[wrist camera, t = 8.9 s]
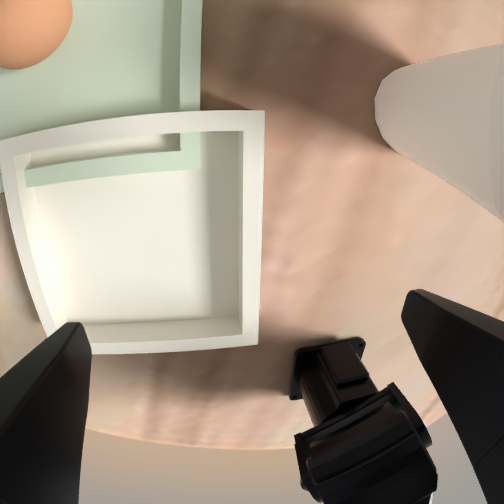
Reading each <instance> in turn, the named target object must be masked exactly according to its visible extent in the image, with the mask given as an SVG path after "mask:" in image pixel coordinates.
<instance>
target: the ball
mask: <svg viewBox="0 0 504 504" xmlns="http://www.w3.org/2000/svg"><path fill="white" fill-rule="evenodd" d="M72 17H73V7H72V2H71V0H0V67H2V68H6V69H14V70H16V69H23V68H28V67H31V66H34V65H36V64H38V63H40V62H41V61H43V60H45V59H46V58H47V57H49V56H50V55H51V54H52V53H53V52H54V51H55V50H56V49H57V48H58V47H59V46H60V44H61V43H62V42H63V40H64V38H65V37H66V35H67V33H68V31H69V28H70V26H71V22H72Z"/></svg>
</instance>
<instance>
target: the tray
mask: <svg viewBox="0 0 504 504" xmlns="http://www.w3.org/2000/svg"><path fill="white" fill-rule="evenodd" d="M202 1H203V0H71V2H72V7H73V17H72V22H71V26H70V28H69V31H68V33H67V35H66V37H65V38H64V40H63V42H62V43H61V44H60V46H59V47H58V48H57V49H56V50H55V51H54V52H53V53H52V54H51V55H50V56H49V57H47V58H46V59H45V60H43V61H41V62H40V63H38V64H36V65H34V66H31V67H28V68H23V69H16V70H14V69H6V68H2V67H0V141H1V140H5V139H8V138H12V137H16V136H20V135H24V134H28V133H32V132H37V131H41V130H46V129H51V128H56V127H61V126H66V125H71V124H77V123H83V122H89V121H96V120H103V119H110V118H118V117H126V116H135V115H145V114H156V113H169V112H186V111H200V65H201V26H202ZM180 147H181V149H168V150H155V151H143V152H133V153H123V154H114V155H105V156H98V157H90V158H83V159H76V160H69V161H63V162H57V163H51V164H45V165H40V166H35V167H31V168H29V169H27V170H24V174H25V181H26V188H30V187H36V186H42V185H48V184H55V183H62V182H69V181H76V180H84V179H92V178H100V177H109V176H118V175H128V174H139V173H151V172H164V171H178V170H195V169H201V146H200V132H185V133H180ZM3 192H4V187H3V180H2V173H1V166H0V193H3Z"/></svg>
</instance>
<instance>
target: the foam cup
mask: <svg viewBox="0 0 504 504" xmlns="http://www.w3.org/2000/svg"><path fill="white" fill-rule="evenodd" d="M375 120H376V123H377V125H378V128H379V130H380V133H381V135H382V138H383V139H384V140H385V141H386V142H387V143H388V144H389V145H390V146H391V147H392V148H393V149H394V150H395V151H396V152H399V153H400V154H401V155H403V156H404V157H406V158H408V159H410V160H411V161H413V162H415V163H417V164H418V165H420V166H422V167H423V168H425V169H427V170H428V171H430V172H431V173H433V174H435V175H436V176H438V177H439V178H441V179H443V180H444V181H446V182H447V183H449V184H450V185H452V186H453V187H455V188H456V189H458V190H459V191H461V192H462V193H464V194H465V195H467V196H468V197H470V198H471V199H472V200H474V201H475V202H477V203H478V204H479V205H481V206H482V207H484V208H485V209H486V210H488V211H489V212H490V213H492V214H493V215H494V216H496V217H497V218H498V219H500V220H501V221H502V222H503V223H504V44H500V45H494V46H488V47H483V48H478V49H473V50H468V51H463V52H459V53H454V54H450V55H446V56H442V57H438V58H434V59H430V60H426V61H423V62H419V63H415V64H412V65H408V66H405V67H401V68H399V69H397V70H394V71H392V72H391V73H390V74H389V75H388V76H386V77H385V78H384V79H383V80H382V81H381V84H380V86H379V89H378V91H377V94H376V96H375Z"/></svg>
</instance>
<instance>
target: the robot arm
mask: <svg viewBox="0 0 504 504" xmlns="http://www.w3.org/2000/svg"><path fill="white" fill-rule="evenodd" d="M401 319H402V322H403V324H404V326H405V329H406V331H407V333H408V335H409V337H410V340H411V342H412V344H413V346H414V349H415V351H416V353H417V355H418V357H419V360H420V362H421V363H422V365H423V367H424V369H425V371H426V373H427V375H428V376H429V378H430V380H431V382H432V384H433V386H434V388H435V389H436V391H437V393H438V395H439V397H440V399H441V401H442V403H443V405H444V407H445V409H446V411H447V413H448V415H449V417H450V419H451V421H452V423H453V425H454V427H455V429H456V431H457V433H458V435H459V437H460V440H461V442H462V444H463V446H464V448H465V450H466V452H467V455H468V457H469V459H470V461H471V464H472V466H473V469H474V471H475V473H476V476H477V478H478V481H479V483H480V486H481V488H482V491H483V493H484V496H485V498H486V501H487V504H504V322H503V321H501V320H498V319H496V318H493V317H491V316H489V315H486V314H484V313H481V312H479V311H476V310H474V309H471V308H469V307H466V306H464V305H461V304H459V303H456V302H454V301H451V300H448V299H446V298H443V297H441V296H438V295H436V294H433V293H431V292H428V291H425V290H423V289H416V290H411V291H409V292H408V294H407V296H406V300H405V303H404V306H403V310H402V313H401ZM365 345H366V342H365V341H364V339H362V338H359V339H354V340H349V341H344V342H339V343H333V344H328V345H322V346H316V347H310V348H303V349H299V350H297V351H296V352H295V355H294V362H293V369H292V375H291V382H290V388H289V398H290V400H298V399H303V400H304V402H305V405H306V407H307V410H308V412H309V415H310V417H311V420H312V423H313V425H314V427H313V428H311V429H309V430H307V431H305V432H303V433H301V432H300V433H298V434H296V435H294V438H295V449H296V454H297V460H298V465H299V470H300V476H301V480H300V481H301V486H302V489H304V490H306V491H309V492H310V494H311V495H312V497H313V498H314V499H315V500H316V501H317V502H319V503H321V502H323V503H324V504H431V503H432V498H433V492H434V491H436V489H437V479H438V475H437V473H436V467H435V465H434V463H433V461H432V459H431V457H430V455H429V453H428V451H427V449H426V448H427V447H429V446H431V445H432V440H431V437H430V435H429V433H428V431H427V429H426V427H425V425H424V423H423V421H422V420H421V418H420V416H419V415H418V413H417V412H416V411H415V409H414V408H413V407H412V405H411V404H410V403H409V402H408V400H407V399H406V398H405V396H404V395H403V394H402V393H401V391H400V390H399V389H398V387H397V386H396V385H395V384H394V382H392V383H390V384H389V385H387V387H386V388H384V389H383V390H381V391H378V389H377V388H376V386H375V385H374V383H373V381H372V380H371V378H370V376H369V373H368V371H367V369H366V368H365V366H364V365H363V363H362V361H361V358H362V355H363V351H364V348H365ZM301 354H302V355H301ZM91 358H92V350H91V346H90V343H89V340H88V337H87V334H86V332H85V329H84V326H83V324H82V323H81V322H66V323H65V324H64V325H62V326H61V327H60V328H59V329H57V330H56V331H55V332H54V333H53V334H51V335H50V336H49V337H48V338H46V339H45V340H44V341H43V342H42V343H40V344H39V345H38V346H37V347H36V348H34V349H33V350H32V351H31V352H30V353H28V354H27V355H26V356H25V357H24V358H23V359H21V360H20V361H19V362H18V363H17V364H16V365H14V366H13V367H12V368H11V369H10V370H9V371H8V372H6V373H5V374H4V375H3V376H2V377H1V378H0V504H78V499H79V483H80V470H81V459H82V449H83V441H84V432H85V425H86V418H87V411H88V402H89V385H90V370H91Z"/></svg>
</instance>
